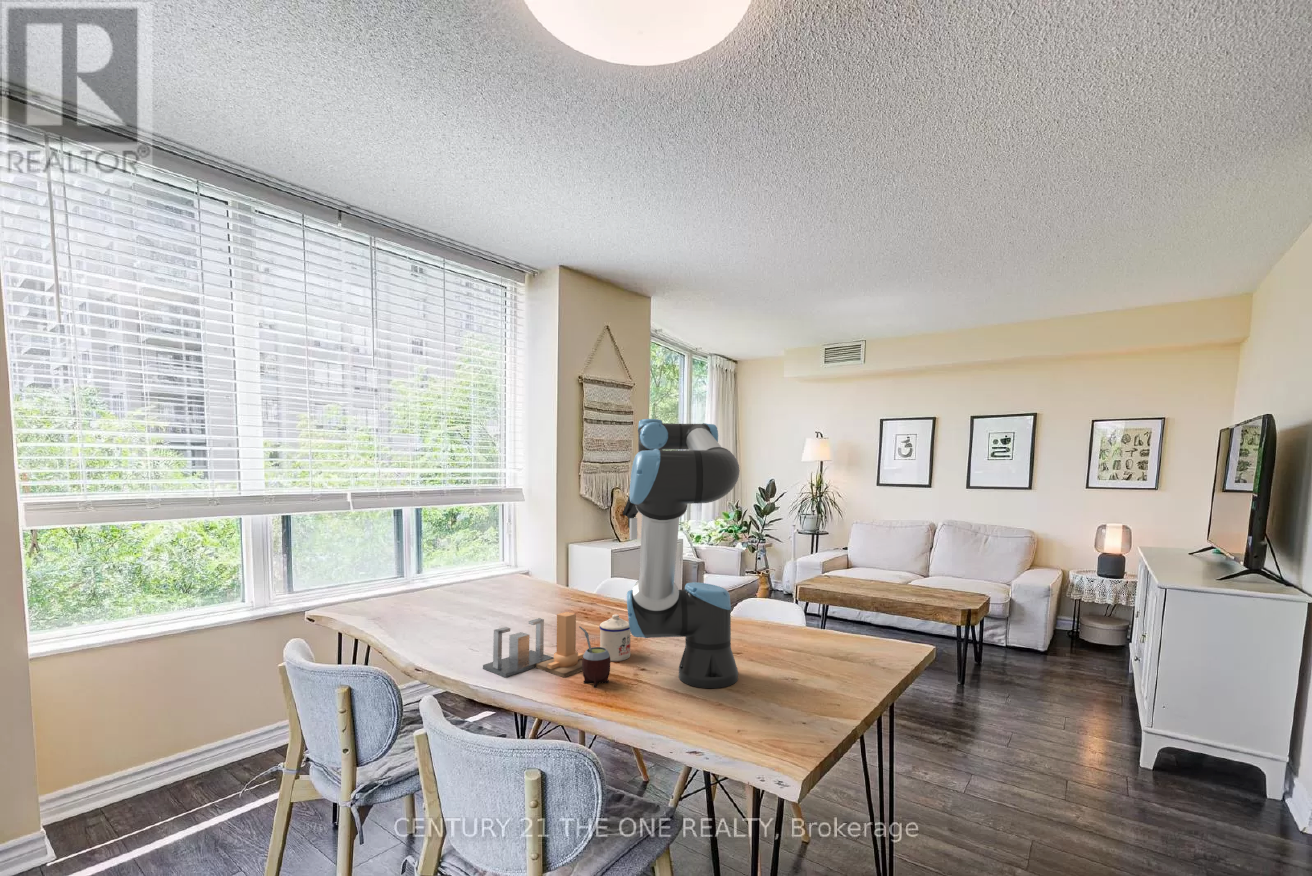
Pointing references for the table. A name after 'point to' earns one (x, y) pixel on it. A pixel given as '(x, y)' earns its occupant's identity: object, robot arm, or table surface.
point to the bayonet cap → (566, 642)
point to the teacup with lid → (615, 638)
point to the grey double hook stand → (517, 651)
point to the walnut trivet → (560, 668)
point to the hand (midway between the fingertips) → (650, 541)
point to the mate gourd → (595, 664)
